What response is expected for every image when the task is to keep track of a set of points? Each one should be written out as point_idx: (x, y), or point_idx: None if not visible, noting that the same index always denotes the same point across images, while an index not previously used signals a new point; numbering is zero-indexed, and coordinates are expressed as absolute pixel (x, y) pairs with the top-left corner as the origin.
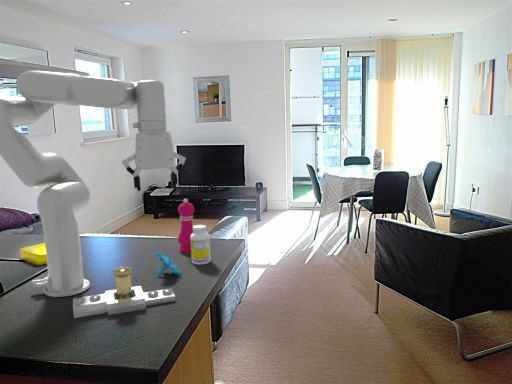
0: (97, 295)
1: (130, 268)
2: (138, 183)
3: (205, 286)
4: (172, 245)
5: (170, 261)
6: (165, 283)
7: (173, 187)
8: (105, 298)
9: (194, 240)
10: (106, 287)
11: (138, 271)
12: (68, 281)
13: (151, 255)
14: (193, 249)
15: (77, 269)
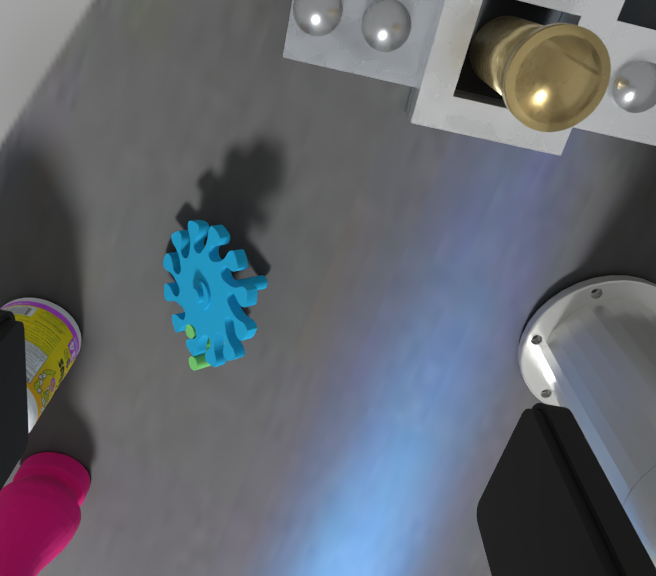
0: (625, 100)
1: (514, 74)
2: (599, 487)
3: (111, 34)
4: (100, 548)
5: (197, 290)
6: (263, 186)
7: (15, 320)
8: None
9: None
10: (478, 284)
11: (310, 372)
12: (638, 320)
13: (207, 495)
14: (50, 361)
15: (611, 352)
